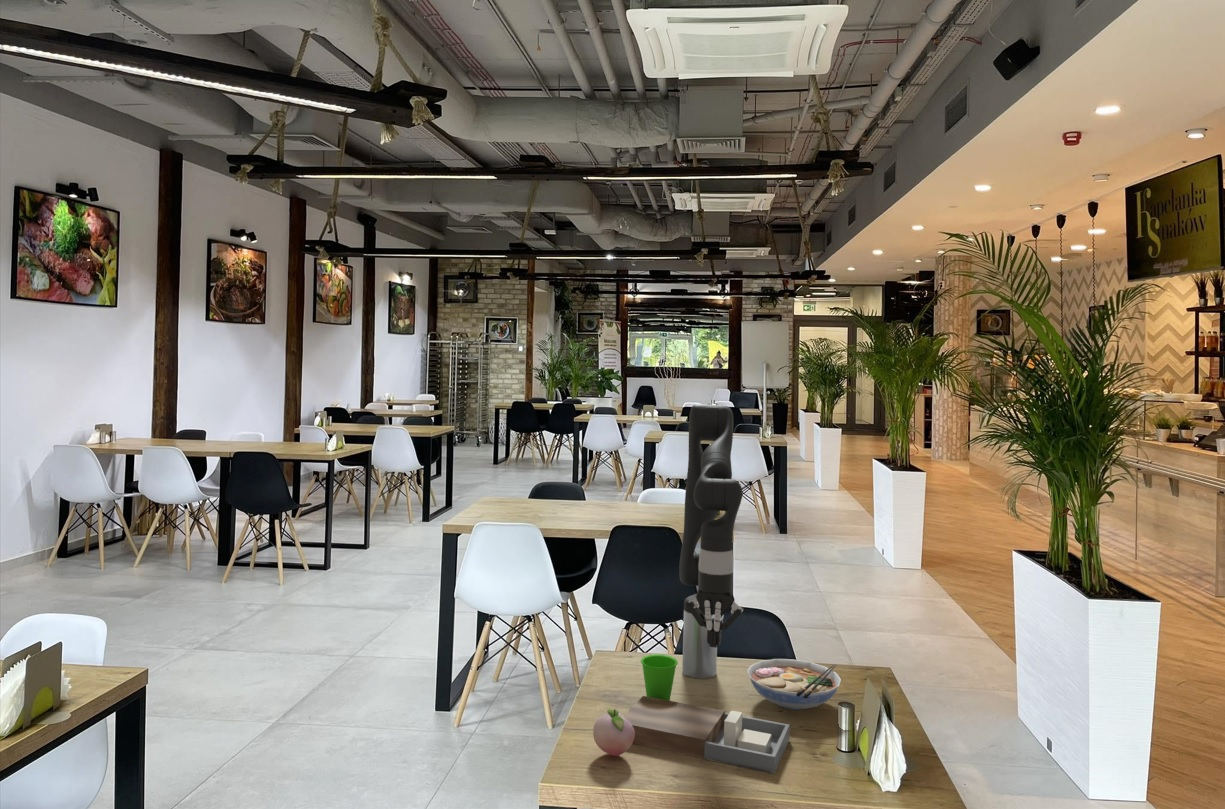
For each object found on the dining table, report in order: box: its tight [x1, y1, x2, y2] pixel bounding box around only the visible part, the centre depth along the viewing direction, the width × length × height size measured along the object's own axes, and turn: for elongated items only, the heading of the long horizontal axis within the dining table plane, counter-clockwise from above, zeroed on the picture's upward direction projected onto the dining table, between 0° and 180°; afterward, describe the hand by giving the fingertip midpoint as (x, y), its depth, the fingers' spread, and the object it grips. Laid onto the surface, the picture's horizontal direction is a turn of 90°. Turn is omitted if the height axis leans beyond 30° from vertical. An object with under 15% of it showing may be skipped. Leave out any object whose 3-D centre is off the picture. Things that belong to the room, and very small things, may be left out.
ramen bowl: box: [746, 658, 842, 711], centre depth 198 cm, size 25×23×8 cm
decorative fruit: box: [592, 708, 635, 757], centre depth 169 cm, size 9×8×10 cm
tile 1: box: [724, 710, 743, 747], centre depth 175 cm, size 6×6×2 cm
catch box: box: [703, 712, 791, 775], centre depth 173 cm, size 17×15×4 cm
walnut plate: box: [623, 695, 726, 759], centre depth 180 cm, size 16×20×4 cm
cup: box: [640, 654, 678, 701], centre depth 195 cm, size 9×9×11 cm
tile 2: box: [738, 729, 771, 753], centre depth 173 cm, size 6×6×2 cm
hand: (713, 646), depth 177 cm, fingers closed
